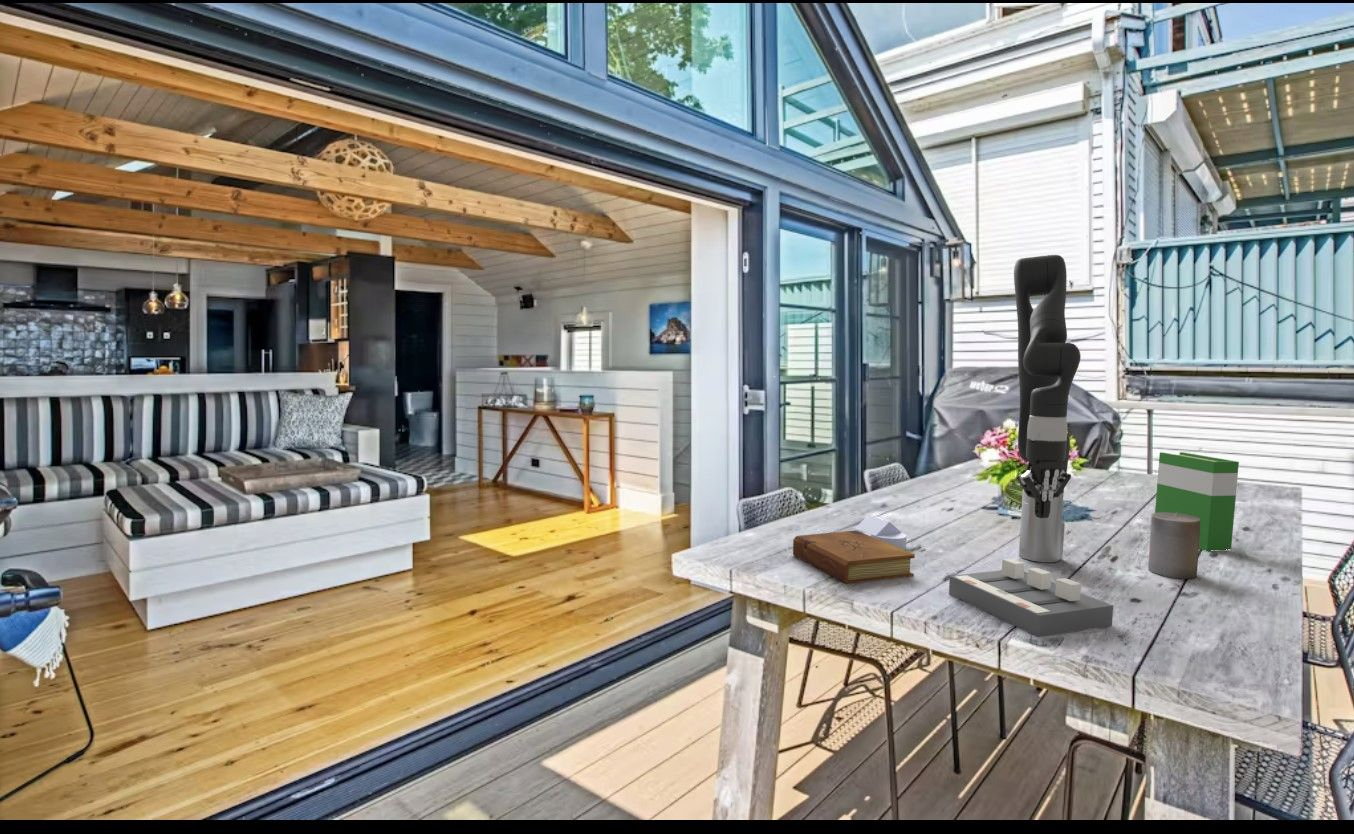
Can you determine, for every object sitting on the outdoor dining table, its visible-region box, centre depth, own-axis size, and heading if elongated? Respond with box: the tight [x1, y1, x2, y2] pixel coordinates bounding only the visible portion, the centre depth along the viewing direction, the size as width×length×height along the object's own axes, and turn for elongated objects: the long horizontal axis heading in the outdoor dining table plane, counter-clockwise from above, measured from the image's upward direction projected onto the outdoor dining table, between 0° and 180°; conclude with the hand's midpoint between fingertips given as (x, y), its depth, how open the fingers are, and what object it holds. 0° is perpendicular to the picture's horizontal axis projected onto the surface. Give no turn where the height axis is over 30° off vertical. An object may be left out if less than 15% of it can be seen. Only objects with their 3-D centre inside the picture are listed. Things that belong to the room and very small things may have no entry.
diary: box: [792, 529, 916, 585], centre depth 173 cm, size 23×19×6 cm
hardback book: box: [1154, 451, 1240, 552], centre depth 199 cm, size 18×7×24 cm, turn 9°
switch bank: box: [948, 569, 1114, 638], centre depth 145 cm, size 18×24×4 cm
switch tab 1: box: [1001, 557, 1025, 579], centre depth 153 cm, size 2×4×3 cm, turn 19°
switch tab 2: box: [1027, 567, 1052, 590], centre depth 146 cm, size 2×4×3 cm, turn 19°
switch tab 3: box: [1055, 577, 1082, 601], centre depth 139 cm, size 2×4×3 cm, turn 19°
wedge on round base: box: [854, 514, 907, 550], centre depth 193 cm, size 9×7×13 cm
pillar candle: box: [1147, 511, 1200, 580], centre depth 171 cm, size 10×10×15 cm
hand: (1041, 517), depth 154 cm, fingers closed
